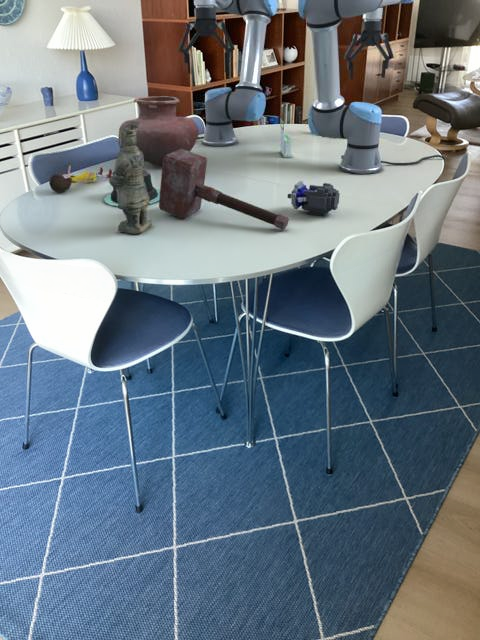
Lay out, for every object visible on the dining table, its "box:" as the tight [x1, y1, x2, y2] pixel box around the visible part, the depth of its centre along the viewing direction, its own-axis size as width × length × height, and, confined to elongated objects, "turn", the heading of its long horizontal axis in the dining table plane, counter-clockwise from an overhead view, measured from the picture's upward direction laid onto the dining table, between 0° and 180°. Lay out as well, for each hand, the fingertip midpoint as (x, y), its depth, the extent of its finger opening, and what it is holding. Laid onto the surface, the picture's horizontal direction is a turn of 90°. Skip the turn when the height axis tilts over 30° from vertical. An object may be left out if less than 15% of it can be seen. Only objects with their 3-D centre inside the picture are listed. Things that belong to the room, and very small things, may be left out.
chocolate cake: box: [103, 168, 160, 207], centre depth 186 cm, size 15×19×20 cm
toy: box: [287, 180, 341, 216], centre depth 168 cm, size 9×9×15 cm
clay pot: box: [118, 95, 200, 166], centre depth 218 cm, size 30×30×25 cm
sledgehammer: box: [158, 149, 290, 231], centre depth 163 cm, size 17×10×40 cm
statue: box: [108, 121, 153, 235], centre depth 154 cm, size 11×9×30 cm
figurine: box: [48, 164, 113, 193], centre depth 199 cm, size 13×8×25 cm
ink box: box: [279, 118, 292, 158], centre depth 229 cm, size 3×10×14 cm, turn 4°
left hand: (207, 72), depth 205 cm, fingers open, 13 cm apart
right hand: (366, 78), depth 231 cm, fingers open, 13 cm apart
